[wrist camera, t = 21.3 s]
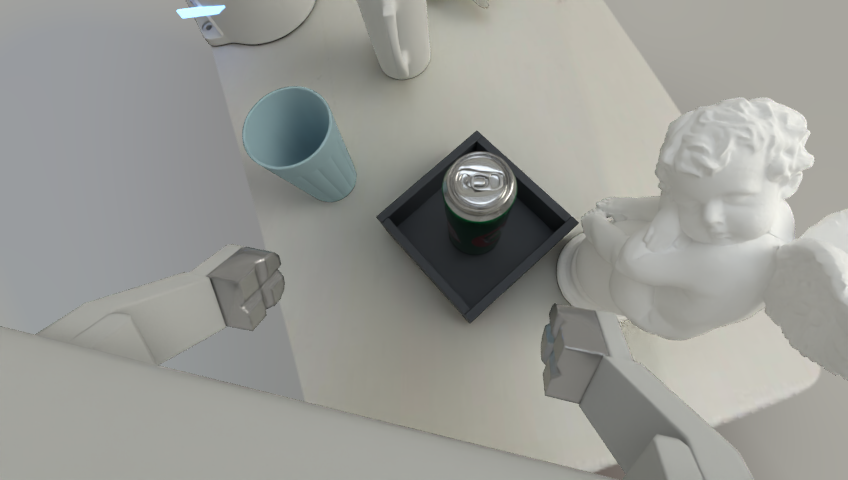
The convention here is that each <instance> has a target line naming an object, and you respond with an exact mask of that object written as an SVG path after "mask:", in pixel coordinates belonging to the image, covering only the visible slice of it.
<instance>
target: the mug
mask: <svg viewBox="0 0 848 480" xmlns="http://www.w3.org/2000/svg"><path fill="white" fill-rule="evenodd" d="M357 3H358V5H359V8H360V11H361V14H362V17H363V20H364V22H365V25H366V28H367V31H368V34H369V37H370V40H371V42H372V45H373V48H374V51H375V53H376V56H377V59H378V62H379V64H380V67H381V69H382V70H383V72H384V73H385V74H387V75H388V76H390V77H392V78H395V79H401V80H403V79H410V78H413V77H415V76H417V75H419V74H420V73H422V72H423V71H424V70H425V68H426V67H427V66H428V64H429V61H430V56H431V52H430V38H429V28H428V17H427V6H426V0H357Z"/></svg>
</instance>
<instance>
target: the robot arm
mask: <svg viewBox="0 0 848 480" xmlns="http://www.w3.org/2000/svg"><path fill="white" fill-rule="evenodd" d="M315 1H316V0H186V2H187V4H188V6H189V8H186V9H178V10H177V12H178V14H179V15H180V16H181V17H182V18H190V17H194V18H195V20H196V22H197V24H198V26H199V28H200V30H201V33H202V34H203V37H204V38H205V39H206V41H207V42H208V44H210V45H212V46H217V45H223V44H227V43H242V44H262V43H267V42H271V41H274V40H276V39H279V38H281V37H283V36H285V35H287V34H288V33H290V32H291V31H293V30H294V29H296V28H297V27H298V26H299V25H300V24H301V23H302V22H303V21H304V20H305V19H306V18H307V16H308V15H309V13H310V12H311V10H312V8H313V6H314V4H315ZM280 265H281V262H280V258H279V255H278V254H276V253H274V252H269V251H265V250H260V249H255V248H250V247H244V246H239V245H234V244H231V245H226V246H225V247H223V248H222V249H220V250H219V251H218V252H216V253H215V254H214V255H212V256H211V257H210V258H208V259H207V260H206V261H204V262H203V263H201V264H200V265H199V266H198V267H196V268H195V269H193V270H192V271H191V272H189V273H185V272H183V273H180V274H177V275H173V276H170V277H167V278H164V279H160V280H158V281H154V282H151V283H148V284H144V285H141V286H138V287H135V288H132V289H128V290H125V291H122V292H119V293H116V294H113V295H110V296H106V297H103V298H100V299H96V300H93V301H90V302H87V303H84V304H82V305H81V306H80V307H78V308H76V309H75V310H73V311H71V312H70V313H69V314H67V315H65V316H64V317H62V318H61V319H59V320H57V321H56V322H54V323H53V324H51V325H49V326H48V327H46V328H45V329H43V330H41V331H40V332H38V333H37V334H35V335H34V334H30V333H26V332H22V331H17V330H14V329H10V328H5V327H2V326H0V480H619V479H615V478H610V477H607V476H602V475H599V474H595V473H590V472H586V471H582V470H578V469H574V468H570V467H566V466H562V465H558V464H554V463H550V462H546V461H542V460H538V459H534V458H530V457H526V456H522V455H518V454H514V453H510V452H506V451H502V450H498V449H494V448H490V447H486V446H482V445H478V444H474V443H470V442H465V441H461V440H457V439H453V438H449V437H445V436H441V435H437V434H433V433H429V432H425V431H421V430H417V429H413V428H409V427H405V426H401V425H397V424H392V423H388V422H384V421H380V420H376V419H372V418H368V417H364V416H360V415H356V414H352V413H348V412H344V411H340V410H336V409H332V408H328V407H324V406H320V405H316V404H312V403H308V402H304V401H300V400H296V399H291V398H288V397H284V396H280V395H276V394H272V393H268V392H264V391H260V390H256V389H252V388H248V387H244V386H240V385H236V384H231V383H228V382H224V381H219V380H215V379H211V378H207V377H203V376H199V375H195V374H191V373H187V372H183V371H179V370H175V369H171V368H167V367H163V366H159V365H160V364H162V363H163V362H165V361H167V360H169V359H171V358H173V357H174V356H176V355H178V354H180V353H181V352H183V351H185V350H187V349H189V348H190V347H192V346H194V345H196V344H198V343H199V342H201V341H203V340H204V339H207V338H208V337H210V336H212V335H214V334H216V333H217V332H219V331H221V330H223V329H224V328H226V326H229V327H234V328H239V329H244V330H249V331H253V330H254V329H255V328H256V327H257V326H258V324H259V323H260V322H261V321H262V320H263V319H264V318H265V316H266V309H268V308H270V307H272V306H275V305H276V304H277V302H278V301H279V300H280V299H281V296H282V294H283V291H284V285H285V282H284V276H283V275H282V274H281V273H280V271H279V270H278V268H279V267H280ZM549 317H550V323H549V324H548V325H546V326H545V328H544V331H543V335H542V341H541V360H542V361H543V363H544V364H545V365H546V366H545V369H544V371H543V382H544V391H545V396H549V397H553V398H557V399H561V400H565V401H569V402H573V403H577V404H579V406H580V408H581V409H582V411H583V412H584V414H585V415H586V417H587V418H588V420H589V421H590V423H591V424H592V426H593V427H594V428H595V430H596V431H597V433H598V434H599V436H600V437H601V439H602V440H603V442H604V443H605V445H606V446H607V448H608V449H609V451H610V452H611V453H612V455H613V456H614V458H615V459H616V461H617V462H618V464H619V465H620V466H621V468H622V470H623V471H624V473H625V474H626V475H625V476H624V478H623V479H622V480H754V478H753V476H752V474H751V472H750V471H749V469H748V467H747V465H746V463H745V461H744V460H743V458H742V456H741V454H740V452H739V451H738V450H737V449H736V448H735V447H734V446H733V445H731V444H730V443H729V442H728V441H727V440H726V439H725V438H724V437H723V436H721V435H720V434H719V433H718V432H717V431H716V430H715V429H714V428H712V427H711V426H710V425H709V424H708V423H707V422H706V421H705V420H704V419H702V418H701V417H700V416H699V415H698V414H697V413H696V412H695V411H694V410H692V409H691V408H690V407H689V406H688V405H687V404H686V403H685V402H684V401H682V400H681V399H680V398H679V397H678V396H677V395H676V394H675V393H674V392H672V391H671V390H670V389H669V388H668V387H667V386H666V385H665V384H663V383H662V382H661V381H660V380H659V379H658V378H657V377H656V376H655V375H653V374H652V373H651V372H650V371H649V370H648V369H647V368H646V367H645V366H643V365H642V364H641V363H639V362H634V360H633V357H632V355H631V352H630V349H629V347H628V344H627V342H626V339H625V336H624V334H623V331H622V329H621V326H620V323H619V321H618V318H617V316H616V315H615V314H614V313H612V312H606V311H599V310H590V309H584V308H578V307H573V306H567V305H561V304H556V303H554V304H553V306H552V308H551V310H550V313H549Z"/></svg>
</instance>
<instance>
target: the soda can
mask: <svg viewBox="0 0 848 480" xmlns="http://www.w3.org/2000/svg"><path fill="white" fill-rule="evenodd" d="M442 195H443V202H444V208H445V214H446V220H447V226H448V233H449V237H450V240H451V242H452V243H453V245H454V246H455V247H456V248H457V249H458V250H459V251H461V252H463V253H465V254H469V255H481V254H485V253H487V252H489V251H491V250H492V249H493V248H494V247H495V246H496V245H497V243H498V242H499V239H500V237H501V234H502V232H503V229H504V227H505V224H506V222H507V219H508V217H509V214H510V212H511V209H512V207H513V204H514V201H515V199H516V195H517V181H516V178H515V175H514V173H513V171H512V170H511V169H510V167H509V166H508V164H507V163H506V162H505V161H504V160H503V159H502V158H500V157H499V156H497V155H495V154H493V153H490V152H484V151H478V152H472V153H468V154H466V155H464V156H462V157H460V158H459V159H458V160H457V161H456V162H455V163H454V164H453V165H452V166H451V167H450V168H449V169H448V171H447V172H446V174H445V176H444V179H443V183H442Z"/></svg>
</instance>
